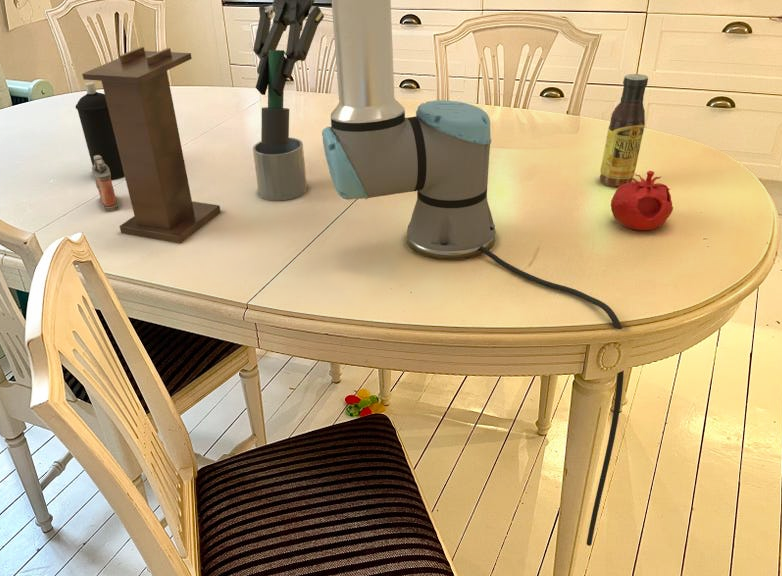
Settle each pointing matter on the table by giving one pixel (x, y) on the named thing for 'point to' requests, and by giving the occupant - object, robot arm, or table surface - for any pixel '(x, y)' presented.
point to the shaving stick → (274, 107)
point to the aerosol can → (99, 130)
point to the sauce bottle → (625, 133)
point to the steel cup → (280, 170)
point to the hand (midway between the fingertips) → (268, 91)
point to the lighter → (104, 184)
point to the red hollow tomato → (642, 203)
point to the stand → (151, 145)
